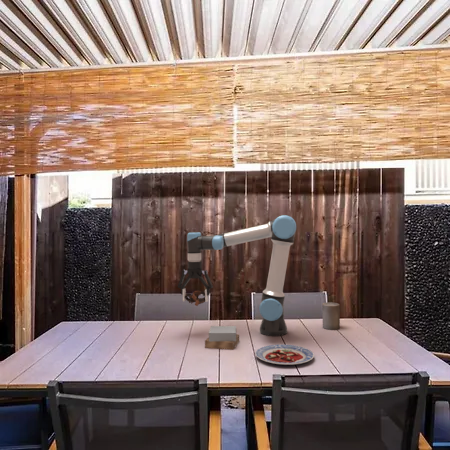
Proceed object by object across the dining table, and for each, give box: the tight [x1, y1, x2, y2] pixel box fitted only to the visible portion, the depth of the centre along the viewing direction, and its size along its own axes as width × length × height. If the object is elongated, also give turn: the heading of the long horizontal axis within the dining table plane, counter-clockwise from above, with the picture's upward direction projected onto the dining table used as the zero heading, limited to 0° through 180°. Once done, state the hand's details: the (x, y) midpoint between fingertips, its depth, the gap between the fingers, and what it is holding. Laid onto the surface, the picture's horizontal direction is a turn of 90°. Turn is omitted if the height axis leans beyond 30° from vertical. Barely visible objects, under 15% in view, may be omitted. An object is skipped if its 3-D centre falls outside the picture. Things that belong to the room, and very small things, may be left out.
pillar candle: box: [321, 301, 341, 331], centre depth 221 cm, size 10×10×15 cm
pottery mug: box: [185, 290, 205, 307], centre depth 208 cm, size 12×10×8 cm
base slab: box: [204, 333, 240, 351], centre depth 193 cm, size 14×14×4 cm
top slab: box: [208, 325, 237, 341], centre depth 193 cm, size 13×13×4 cm
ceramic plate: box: [254, 344, 315, 366], centre depth 172 cm, size 26×26×3 cm
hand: (195, 301), depth 208 cm, fingers closed on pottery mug, 12 cm apart
